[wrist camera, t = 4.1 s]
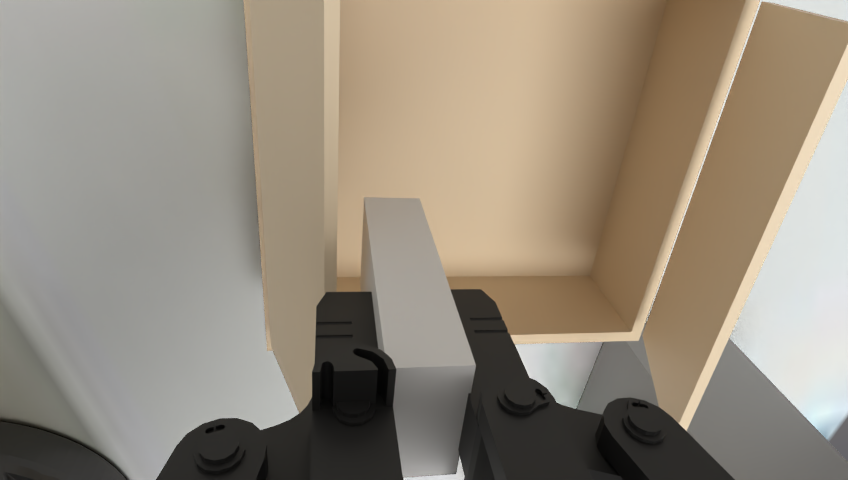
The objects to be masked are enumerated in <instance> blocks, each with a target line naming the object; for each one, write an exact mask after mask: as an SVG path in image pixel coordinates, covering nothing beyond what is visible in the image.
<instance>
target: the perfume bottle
mask: <svg viewBox="0 0 848 480" xmlns="http://www.w3.org/2000/svg"><path fill="white" fill-rule="evenodd" d="M646 324H647V323H645V324H644V327H643V330H642V333H641V336H640V338H639V341H610V342H603V345H602V347H601V350H600V352H599V355H598V357H597V360H596V362H595V365H594V367H593V370H592V372H591V374H590V377H589V379H588V382H587V384H586V387H585V389H584V392H583V394H582V397H581V399H580V402H579V404H578V407H577V409H578V410H583V411H588V412H592V413H597V414H603V412H604V410H605V408H606V406H607V404H608V403H610V402H612V401H613V400H615V399H617V398H629V397H631V398H636V399H640V400H645V401H647V402H649V403H651V404H654V405H656V406H658V407H659V405H658V400H657V396H656V392H655V388H654V383H653V379H652V375H651V370H650V366H649V362H648V357H647V353H646V349H645V345H644V340H643V336H642V335H643V332H644V329H645V326H646ZM687 432H688V433H689V434H690V435H691V436H692V437H693V438H694V439H695V440H696V441H697V442H698V443H699V444H700V445H701V446H702V447H703V448H704V449H705V450H706V451H707V452H708V453H709V454H710V455H711V456H712V457H713V458H714V459H715V460H716V461H717V462H718V463H719V464H720V465H721V466H722V467H723V468H724V469H725V470H726V471H727V472H728V473H729V474H730V475H731V476H732V477H733V478H734V479H735V480H848V461H846V460H845V458H844V457H843V456H842V455H841V454H840V453H839V452H838V451H837V450H836V449H835V448H834V447H833V446H832V445H831V444H830V443H829V442H828V441H827V440H826V439H825V438H824V436H823V435H822V434H821V433H820V432H819V431H818V430H817V429H816V428H815V427H814V426H813V425H812V424H811V423H810V422H809V421H808V420H807V419H806V418H805V417H804V416H803V415H802V414H801V413H800V412H799V410H798V409H797V408H796V407H795V406H794V405H793V404H792V403H791V402H790V401H789V400H788V399H787V398H786V397H785V396H784V395H783V394H782V393H781V392H780V391H779V390H778V389H777V388H776V387H775V386H774V384H773V383H772V382H771V381H770V380H769V379H768V378H767V377H766V376H765V375H764V374H763V373H762V372H761V371H760V370H759V369H758V368H757V367H756V366H755V365H754V364H753V363H752V362H751V361H750V360H749V358H748V357H747V356H746V355H745V354H744V353H743V352H742V351H741V350H740V349H739V348H738V347H737V346H736V345H735V344H734V343H733V342H732V341H731V340H730V339H728V341H727V344H726V346H725V348H724V350H723V352H722V355H721V357H720V359H719V361H718V363H717V365H716V368H715V370H714V372H713V374H712V376H711V379H710V381H709V383H708V385H707V387H706V389H705V392H704V394H703V396H702V398H701V400H700V403H699V405H698V407H697V409H696V411H695V413H694V416H693V418H692V420H691V422H690V424H689V427H688V429H687Z"/></svg>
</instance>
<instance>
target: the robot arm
mask: <svg viewBox="0 0 848 480" xmlns="http://www.w3.org/2000/svg"><path fill="white" fill-rule="evenodd" d="M360 286H361V292H326V293H325V295H324V296H323V298H322V299H321V300H320V302H319V303H318V305H317V306H316V336H315V364H314V367H313V370H312V398H311V400H310V402H309V403H308V405H307V406H306V407H305V408H304V409H303V410H302V412H301V413H299V414H298V415H296V416H295V417H293V418H292V419H291V420H289V421H286V422H284V423H281V424H279V425H276V426H273V427H270V428H267V429H264V430H260V429H258V428H257V427H256V426H255V425H254V424H253V423H251V422H247V421H244V420H241V419H238V418H228V419H217V420H214V421H211V422H207V423H204V424H202V425H200V426H199V427H197V428H195V429H194V430H192V431H191V432H189V433H187V435H186V436H185V437H184V438H183V439H182V440H181V441H180V443H179V444H178V445H177V446H176V448H175V449H174V451H173V453H172V454H171V456H170V458H169V459H168V461H167V463H166V464H165V466H164V468H163V469H162V471H161V473H160V474H159V476H158V478H157V479H156V480H403V478H404V477H419V476H433V475H447V474H456V472H457V466H458V461H459V455H460V459H461V463H462V467H463V471H464V475H465V478H464V480H735V479H734V478H733V477H732V476H731V475H730V474H729V473H728V472H727V471H726V470H725V469H724V468H723V467H722V466H721V465H720V464H719V463H718V462H717V461H716V460H715V459H714V458H713V457H712V456H711V455H710V454H709V453H708V452H707V451H706V450H705V449H704V448H703V447H702V446H701V445H700V444H699V443H698V442H697V441H696V440H695V439H694V438H693V437H692V436H691V435H690V434H689V433H688V432H687V431H686V430H685V429H684V428H683V427H682V426H681V425H680V424H679V423H678V422H677V421H676V420H675V419H674V418H673V417H671V416H670V415H669V414H668V413H666V412H665V411H664V410H662V409H661V408H660V407H658V406H656V405H654V404H651V403H649V402H647V401H645V400H640V399H636V398H631V397H629V398H617V399H615V400H613V401H612V402H610V403H608V404H607V406H606V408H605V410H604V412H603V414H597V413H592V412H588V411H583V410H578V409H573V408H570V407H567V406H563V405H561V404H558V403H556V401H555V399H554V397H553V396H552V395H551V393H550V392H549V391H548V389H547V388H545V387H544V386H543V385H541V384H540V383H538V382H537V381H536V380H533V379H531V378H529V376H528V374H527V372H526V369H525V367H524V365H523V363H522V360H521V358H520V356H519V354H518V351H517V349H516V347H515V345H514V342H513V340H512V338H511V336H510V334H509V333H508V329H507V327H506V325H505V322H504V320H502V316H501V313H500V311H499V309H498V307H497V304H496V302H495V301H494V300H492V299H491V298H490V297H489V296H488V295H487V294H486V293H485V292H484V291H482V290H481V289H450V287H449V284H448V281H447V278H446V275H445V272H444V269H443V266H442V263H441V260H440V257H439V254H438V251H437V248H436V245H435V243H434V240H433V237H432V234H431V231H430V228H429V225H428V222H427V219H426V216H425V213H424V210H423V207H422V204H421V201H420V198H377V197H364V209H363V231H362V253H361V276H360ZM0 480H126V479H125V477H124V476H123V475H122V474H121V473H120V472H119V471H118V470H117V469H116V468H115V467H113V466H112V465H111V464H110V463H109V462H107V461H106V460H105V459H103V458H102V457H100V456H99V455H97V454H96V453H94V452H92V451H91V450H89V449H87V448H85V447H83V446H81V445H79V444H77V443H75V442H73V441H71V440H68V439H66V438H63V437H61V436H58V435H55V434H53V433H49V432H46V431H43V430H40V429H36V428H32V427H28V426H23V425H18V424H13V423H7V422H0Z"/></svg>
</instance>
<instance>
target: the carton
mask: <svg viewBox="0 0 848 480" xmlns="http://www.w3.org/2000/svg"><path fill="white" fill-rule="evenodd" d="M759 2H760V0H340V44H339V128H338V212H337V292H361V286H360V276H361V253H362V231H363V209H364V197H377V198H420V201H421V204H422V207H423V210H424V213H425V216H426V219H427V222H428V225H429V228H430V231H431V234H432V237H433V240H434V243H435V245H436V248H437V251H438V254H439V257H440V260H441V263H442V266H443V269H444V272H445V275H446V278H447V281H448V284H449V287H450V289H481V290H482V291H484V292H485V293H486V294H487V295H488V296H489V297H490V298H491V299H492V300H494V301H495V302H496V304H497V307H498V309H499V311H500V313H501V316H502V320H504V322H505V325H506V327H507V329H508V333H509V334H510V336H511V338H512V340H513V342H514V344H536V343H573V342H610V341H639V338H640V336H641V333H642V330H643V327H644V324H645V322H646V319H647V316H648V313H649V310H650V308H651V305H652V302H653V299H654V296H655V294H656V291H657V288H658V285H659V282H660V279H661V277H662V274H663V271H664V268H665V265H666V263H667V260H668V257H669V254H670V251H671V249H672V246H673V243H674V240H675V237H676V235H677V232H678V229H679V226H680V223H681V221H682V218H683V215H684V212H685V209H686V207H687V204H688V201H689V198H690V195H691V193H692V190H693V187H694V184H695V181H696V179H697V176H698V173H699V170H700V167H701V165H702V162H703V159H704V156H705V153H706V151H707V148H708V145H709V142H710V139H711V136H712V134H713V131H714V128H715V125H716V122H717V120H718V117H719V114H720V111H721V108H722V106H723V103H724V100H725V97H726V94H727V92H728V89H729V86H730V83H731V80H732V78H733V75H734V72H735V69H736V66H737V64H738V61H739V58H740V55H741V52H742V50H743V47H744V44H745V41H746V38H747V36H748V33H749V30H750V27H751V24H752V22H753V19H754V16H755V13H756V10H757V8H758V5H759ZM244 14H245V29H246V44H247V59H248V74H249V89H250V103H251V118H252V133H253V148H254V163H255V178H256V193H257V207H258V222H259V237H260V252H261V267H262V282H263V297H264V311H265V326H266V341H267V351H273V350H272V348H271V339H270V323H269V307H268V292H267V276H266V260H265V244H264V228H263V212H262V196H261V180H260V164H259V148H258V132H257V116H256V100H255V84H254V68H253V52H252V36H251V20H250V4H249V0H244Z"/></svg>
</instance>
